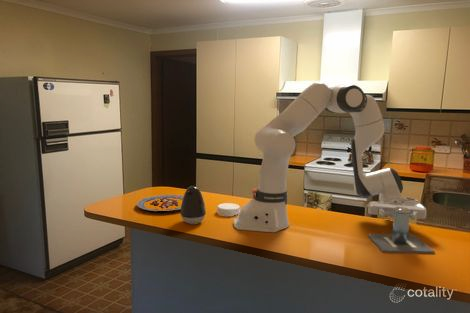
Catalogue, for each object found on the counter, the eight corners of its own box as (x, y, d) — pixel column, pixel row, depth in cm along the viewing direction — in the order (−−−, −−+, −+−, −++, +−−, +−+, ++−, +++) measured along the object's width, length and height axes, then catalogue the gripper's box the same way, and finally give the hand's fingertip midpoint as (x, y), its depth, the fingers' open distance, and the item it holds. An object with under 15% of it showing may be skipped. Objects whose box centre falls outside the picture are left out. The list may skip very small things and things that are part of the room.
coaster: (229, 218, 154) (229, 210, 153) (212, 213, 160) (212, 206, 160) (244, 213, 162) (244, 205, 161) (227, 208, 168) (227, 201, 167)
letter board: (383, 252, 120) (383, 250, 120) (367, 235, 135) (367, 233, 135) (434, 253, 120) (434, 251, 120) (413, 236, 135) (413, 234, 135)
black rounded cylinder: (176, 225, 145) (175, 188, 143) (187, 217, 155) (186, 182, 152) (199, 228, 142) (199, 190, 140) (209, 219, 152) (209, 184, 149)
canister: (395, 244, 125) (397, 211, 123) (389, 239, 130) (391, 206, 128) (409, 244, 125) (412, 211, 123) (403, 239, 130) (406, 207, 128)
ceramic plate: (125, 207, 168) (125, 201, 167) (167, 196, 188) (167, 190, 188) (163, 219, 153) (163, 212, 152) (204, 205, 173) (204, 199, 172)
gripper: (366, 195, 147) (369, 205, 134) (422, 200, 141) (430, 210, 128) (365, 210, 148) (368, 221, 135) (421, 215, 142) (429, 227, 129)
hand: (399, 216), depth 131 cm, fingers open, 8 cm apart
